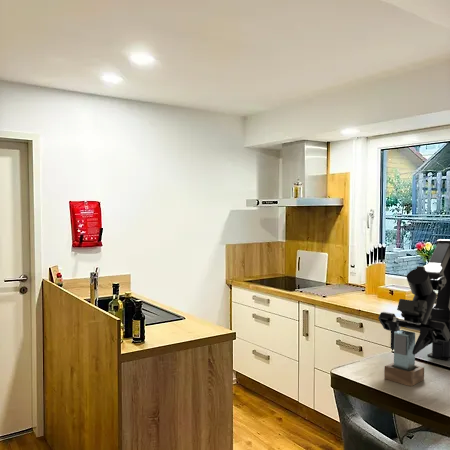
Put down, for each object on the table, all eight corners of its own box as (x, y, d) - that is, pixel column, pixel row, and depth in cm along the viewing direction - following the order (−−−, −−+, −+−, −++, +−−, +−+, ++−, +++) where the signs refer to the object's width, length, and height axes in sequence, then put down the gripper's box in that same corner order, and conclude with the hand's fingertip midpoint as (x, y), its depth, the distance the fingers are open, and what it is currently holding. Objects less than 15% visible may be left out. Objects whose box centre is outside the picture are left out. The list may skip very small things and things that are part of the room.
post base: (397, 372, 133) (398, 360, 133) (424, 379, 128) (424, 367, 128) (384, 378, 128) (384, 366, 128) (410, 386, 123) (411, 373, 123)
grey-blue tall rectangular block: (400, 375, 131) (401, 329, 130) (414, 379, 128) (415, 332, 128) (392, 379, 128) (393, 332, 127) (406, 383, 125) (407, 335, 125)
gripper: (381, 284, 137) (360, 327, 130) (446, 292, 123) (427, 341, 116) (394, 307, 142) (375, 350, 135) (458, 318, 129) (440, 366, 121)
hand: (402, 351), depth 127 cm, fingers open, 6 cm apart
